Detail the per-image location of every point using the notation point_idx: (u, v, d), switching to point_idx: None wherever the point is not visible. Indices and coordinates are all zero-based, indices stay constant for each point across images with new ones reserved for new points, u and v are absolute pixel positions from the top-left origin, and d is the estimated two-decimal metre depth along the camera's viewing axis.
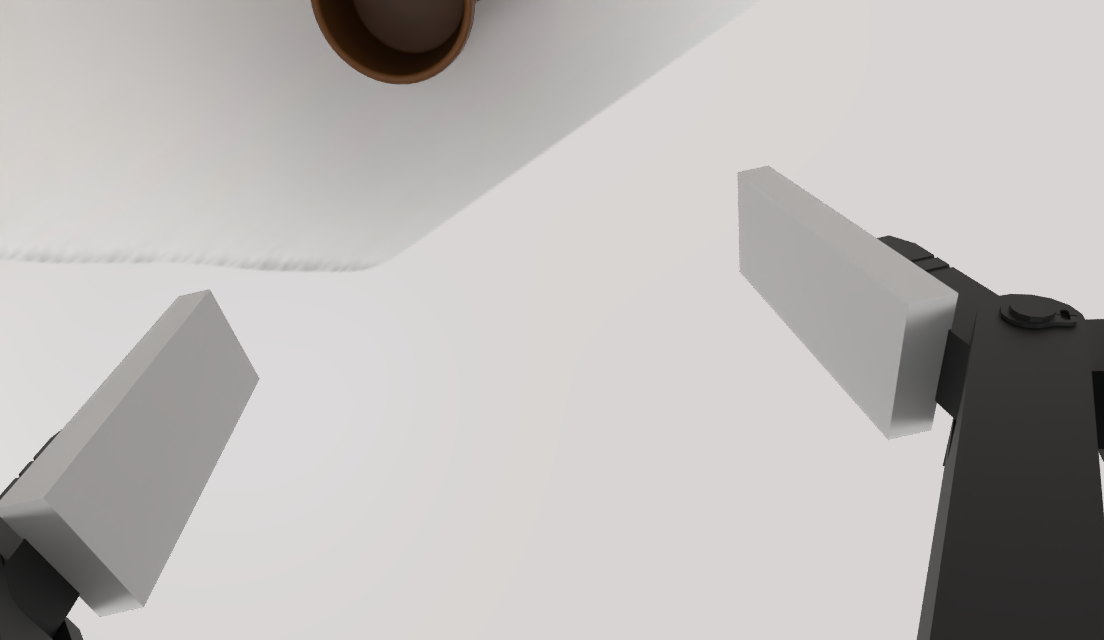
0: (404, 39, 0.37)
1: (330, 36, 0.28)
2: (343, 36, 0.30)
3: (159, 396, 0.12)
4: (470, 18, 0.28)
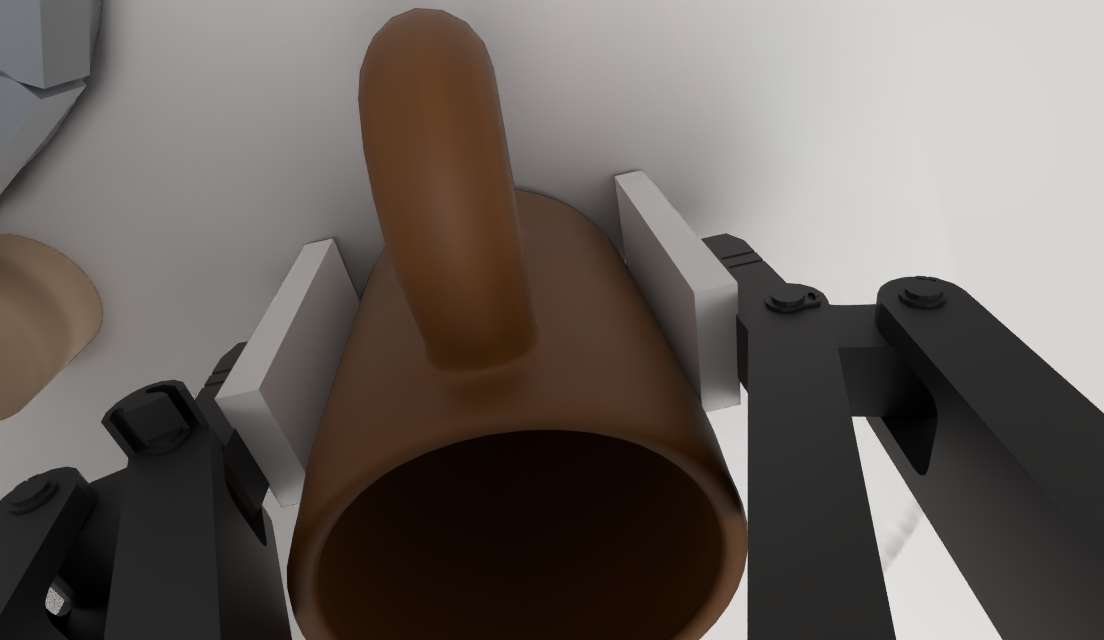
0: None
1: None
2: (589, 575, 0.13)
3: (313, 323, 0.13)
4: (597, 415, 0.08)
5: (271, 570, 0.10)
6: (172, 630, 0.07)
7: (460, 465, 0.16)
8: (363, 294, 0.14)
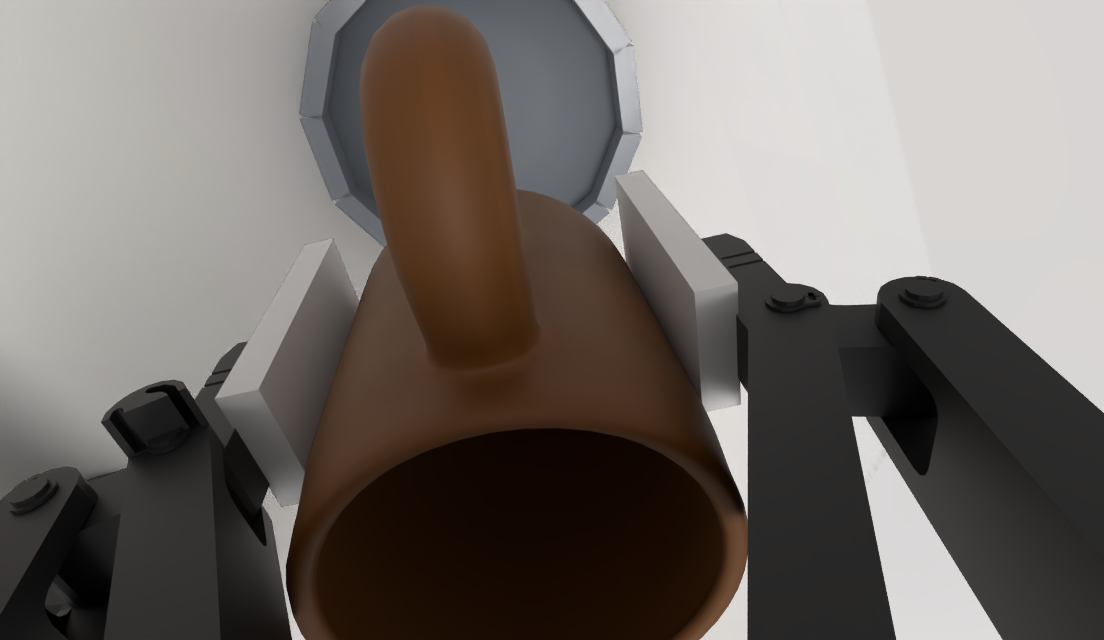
0: None
1: None
2: (589, 575, 0.13)
3: (313, 323, 0.13)
4: (598, 414, 0.08)
5: (271, 570, 0.10)
6: (173, 630, 0.07)
7: (460, 464, 0.16)
8: (363, 293, 0.14)
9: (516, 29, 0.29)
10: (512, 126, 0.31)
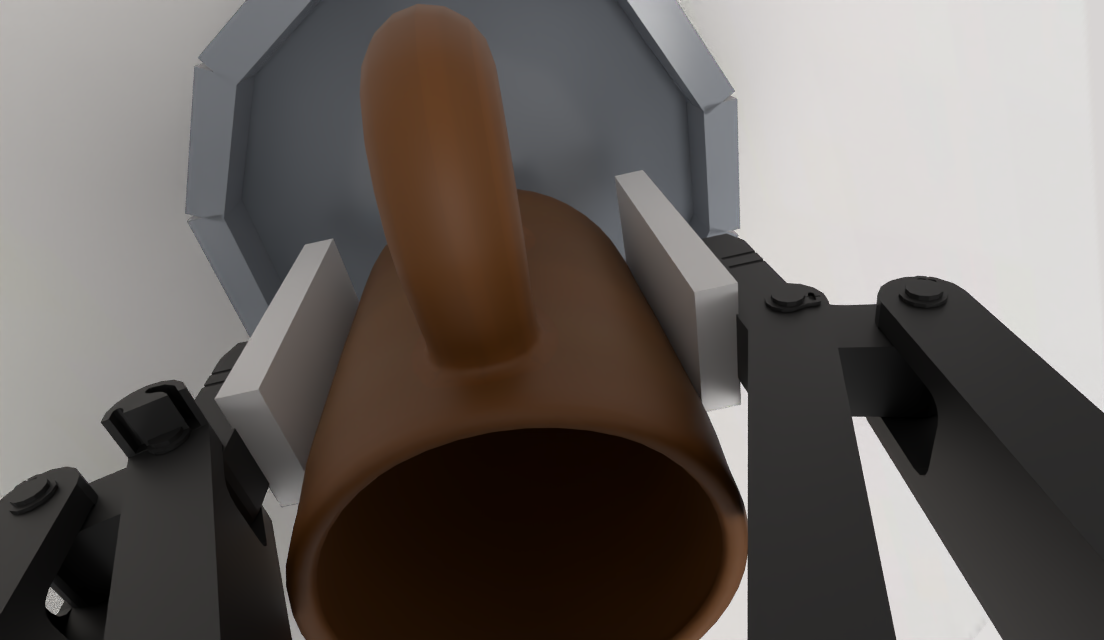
0: None
1: None
2: (589, 575, 0.13)
3: (313, 323, 0.13)
4: (598, 413, 0.08)
5: (271, 570, 0.10)
6: (172, 630, 0.07)
7: (459, 464, 0.16)
8: (363, 292, 0.14)
9: (543, 71, 0.18)
10: None
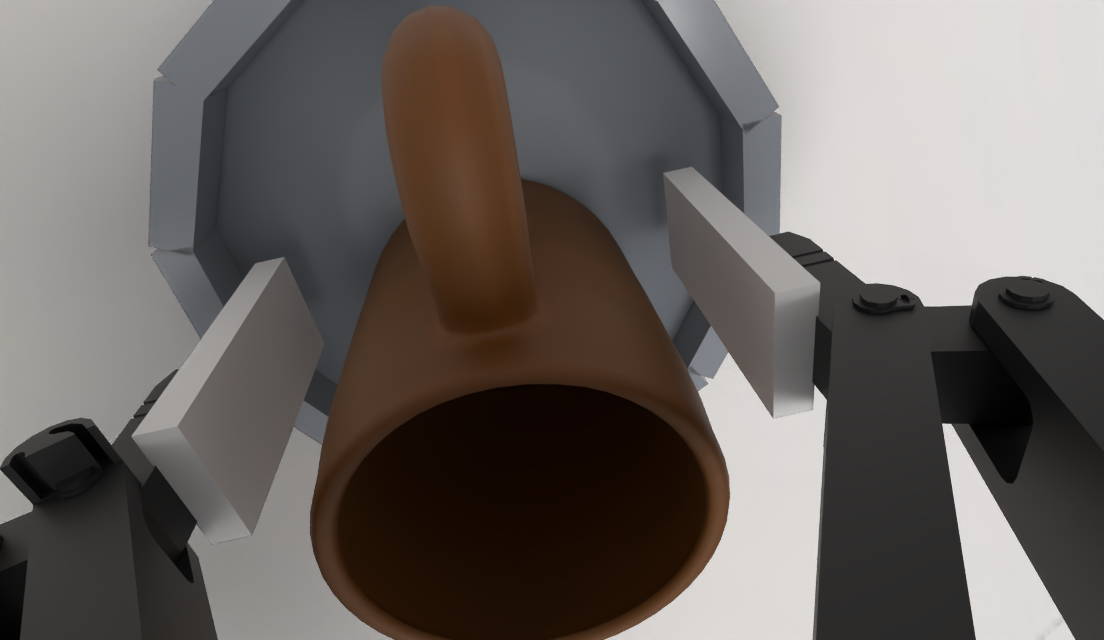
0: None
1: (593, 636, 0.12)
2: (585, 537, 0.14)
3: (253, 349, 0.13)
4: (592, 371, 0.09)
5: (200, 607, 0.09)
6: None
7: (463, 439, 0.17)
8: (373, 275, 0.15)
9: (559, 83, 0.16)
10: None
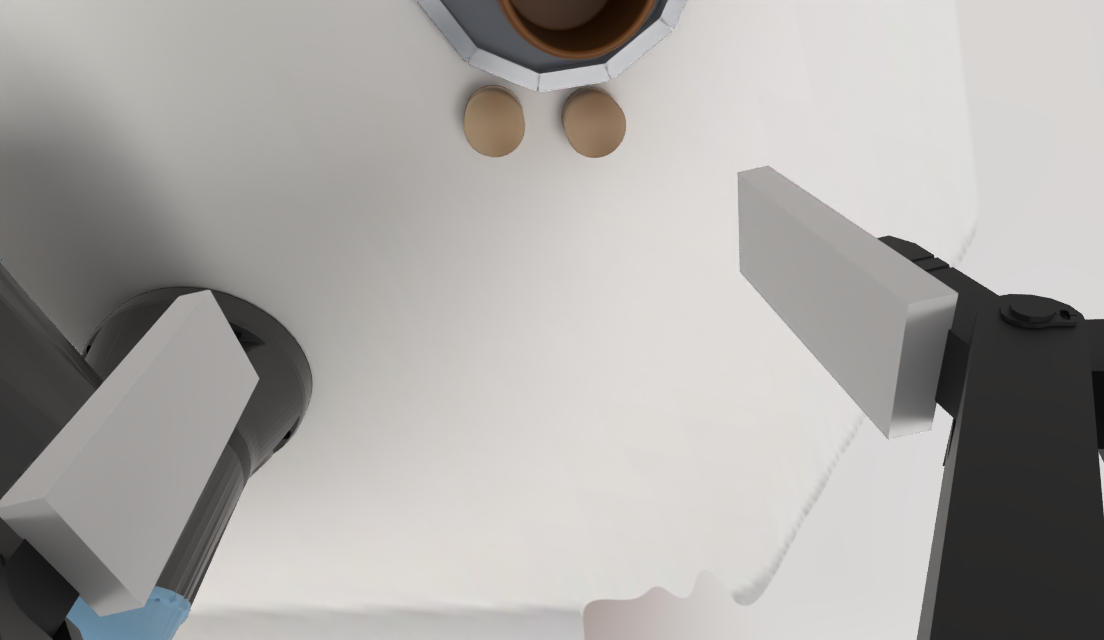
0: None
1: (602, 48, 0.27)
2: (599, 39, 0.29)
3: (159, 395, 0.12)
4: None
5: None
6: None
7: (535, 29, 0.32)
8: None
9: None
10: None
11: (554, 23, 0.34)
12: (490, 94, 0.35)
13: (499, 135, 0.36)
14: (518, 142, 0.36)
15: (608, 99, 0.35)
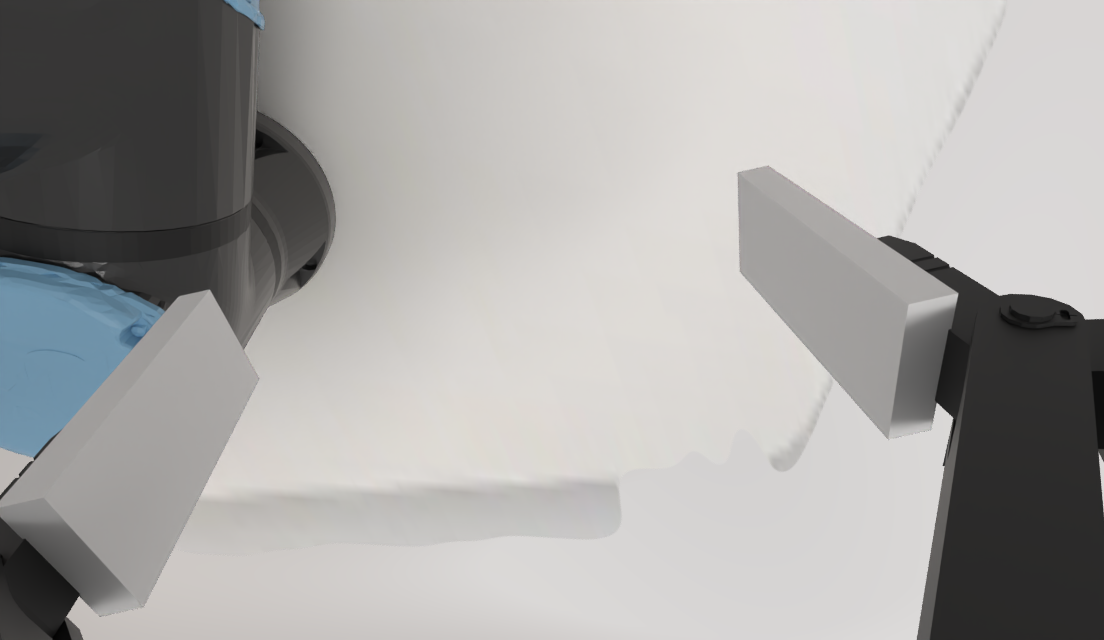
0: None
1: None
2: None
3: (159, 395, 0.12)
4: None
5: None
6: None
7: None
8: None
9: None
10: None
11: None
12: None
13: None
14: None
15: None
